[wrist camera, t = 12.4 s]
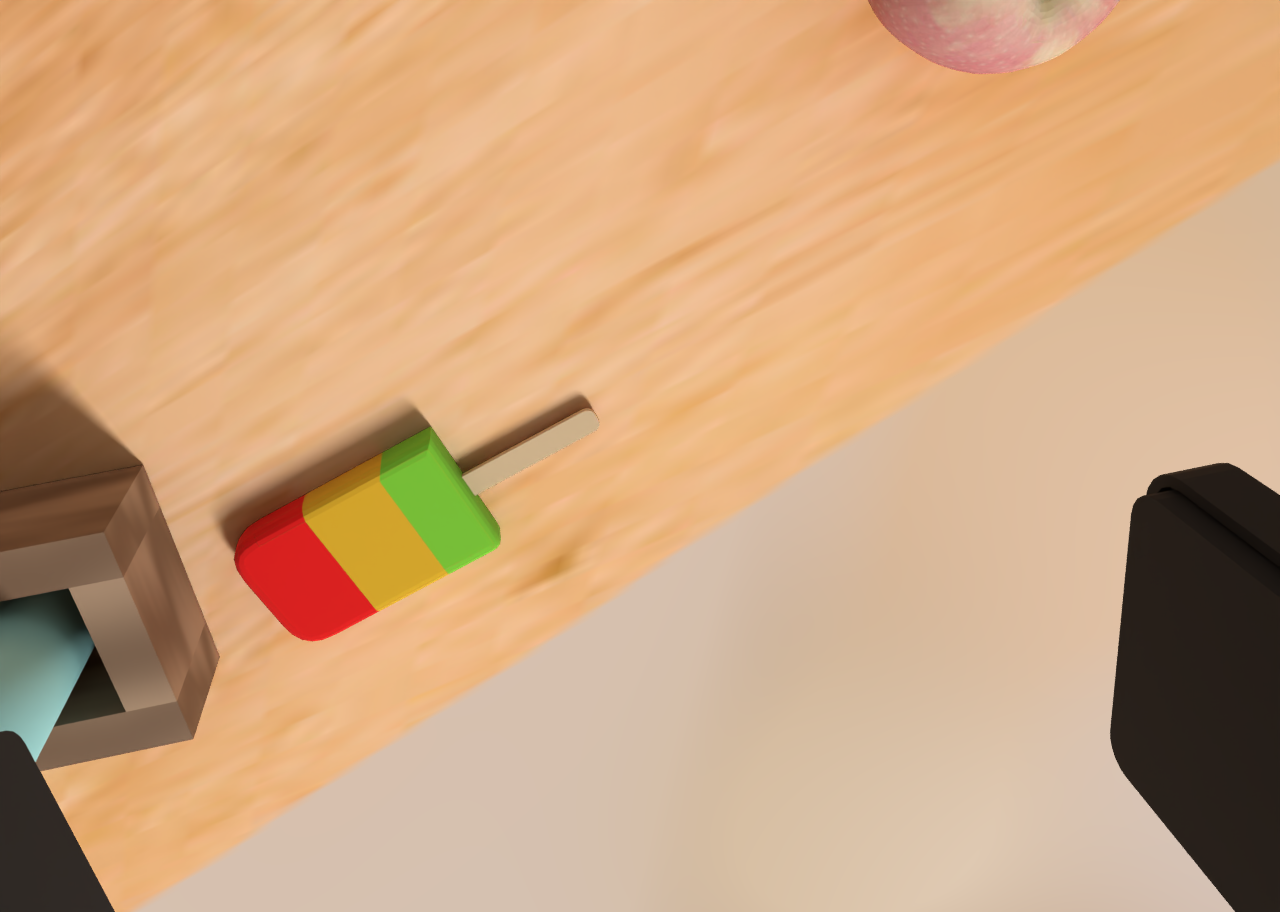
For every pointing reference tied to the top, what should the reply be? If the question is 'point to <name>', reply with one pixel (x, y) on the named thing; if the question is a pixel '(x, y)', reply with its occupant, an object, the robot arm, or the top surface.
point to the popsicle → (383, 530)
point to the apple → (991, 30)
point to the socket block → (112, 611)
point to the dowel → (39, 662)
